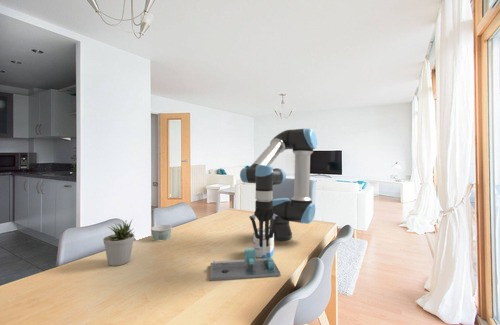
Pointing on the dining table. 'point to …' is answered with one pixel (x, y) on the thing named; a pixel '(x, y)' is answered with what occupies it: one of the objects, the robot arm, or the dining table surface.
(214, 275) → the bolt plate
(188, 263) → the dining table surface
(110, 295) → the dining table surface
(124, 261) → the potted plant
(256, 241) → the ink box
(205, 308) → the dining table surface
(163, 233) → the food container
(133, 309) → the dining table surface
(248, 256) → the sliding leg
